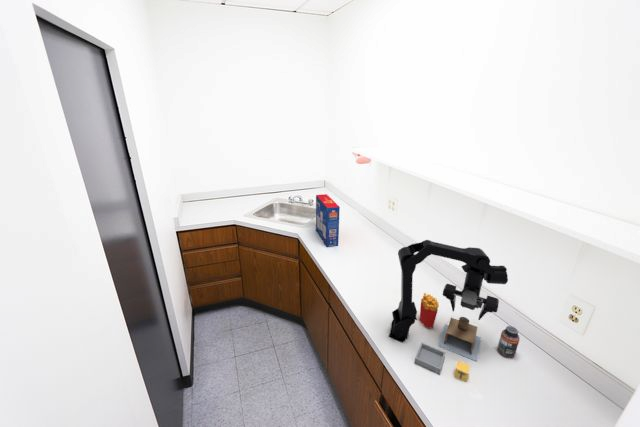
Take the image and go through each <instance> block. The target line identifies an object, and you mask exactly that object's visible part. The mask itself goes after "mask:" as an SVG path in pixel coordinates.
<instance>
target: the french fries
mask: <svg viewBox="0 0 640 427" xmlns="http://www.w3.org/2000/svg"><path fill="white" fill-rule="evenodd" d="M438 308H439V302H438V299H437V298H436V297H434V296H433V295H431V294H428V293H426V292H424V293H423V295H422V298H421V300H420V311H419V321H420V323H421V324H422V325H423V326H424V327H426V328H428V329H431V328H433V327H434V325H435V322H436V321H435V320H436V317H437V316H438V315H437V314H438V311H439V310H438Z"/></svg>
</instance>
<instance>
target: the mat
mask: <svg viewBox="0 0 640 427" xmlns="http://www.w3.org/2000/svg"><path fill="white" fill-rule="evenodd" d="M448 326H449V324H448V325H447V324H445V323H444V326H443V329H442V332H441V335H440V338H439V341H438V344H437V347H440V348H443V349H444V350H448V351H449V352H452V353H455V354H458V355H459V356H462V357H465V358H467V359H469V360H472V361H474V362H477V361H478V356H479V350H480V345H481V340H482V339H481V337H480V336H478V335H476V337H475V343H474V347H473V350H472V354H471V355H470V350H471V345H472V343H470V342H467V341H465V340H462V339H460V338H457V337H454V336H452V335H448V338H447V341H446V345H445V344H444V341H445V336H446V332H447V329H448Z"/></svg>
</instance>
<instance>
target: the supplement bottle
mask: <svg viewBox="0 0 640 427" xmlns="http://www.w3.org/2000/svg"><path fill="white" fill-rule="evenodd" d="M519 343H520V335H519V330H518V329H517V328H516V327H514V326H512V325H507V326H506V327H505V329H502V330H501V333H500V337H499V340H498V344H497V352H498V353H499V354H500V355H501V356H503V357H505V358H509V359H510V358H511V359H513V358H514V357H515V356H516V353H517V349H518V346H519Z"/></svg>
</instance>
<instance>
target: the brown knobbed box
mask: <svg viewBox="0 0 640 427" xmlns="http://www.w3.org/2000/svg"><path fill="white" fill-rule="evenodd" d="M477 331H478V326H476V325H473V324H470V320H469V319H468V318H467V317H466V316H460V317H459V318H458V319H457V318H454V317H450V320H449V323H448V329H447V332H446V336H445V341H444V344H445V345H446V341H447V338H448V335H452V336H454V337H457V338H460V339H462V340H465V341H467V342H470V343H472V345H471V350H470V355H471V354H472V350H473V347H474V343H475V337H476V336H477Z"/></svg>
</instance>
